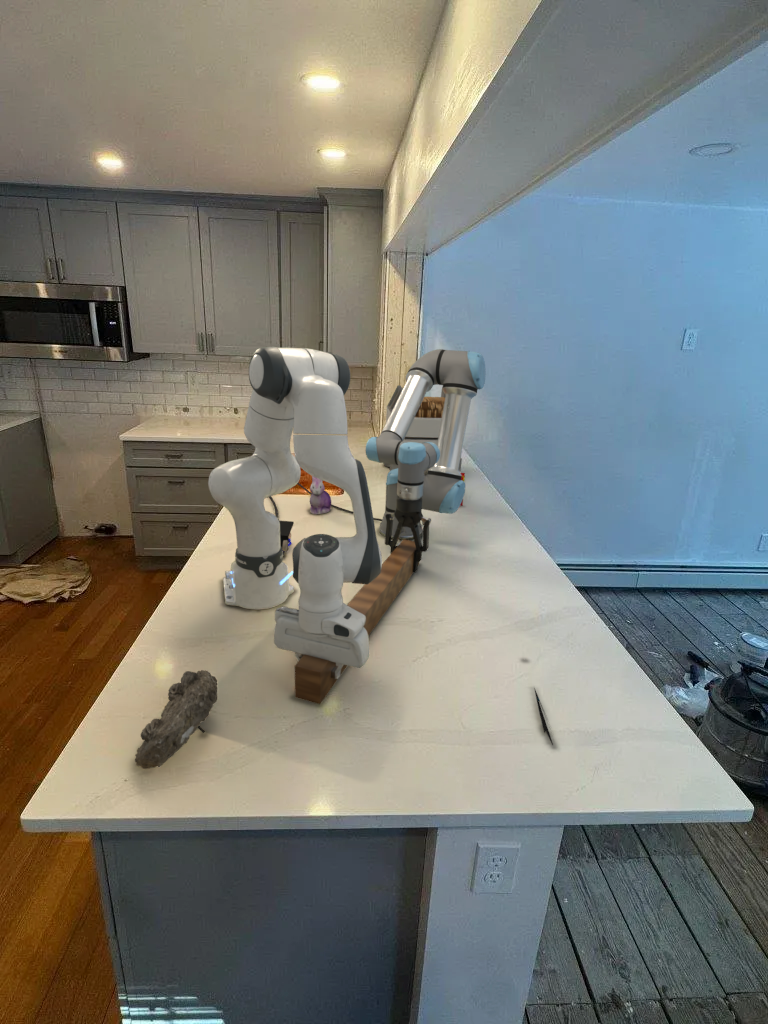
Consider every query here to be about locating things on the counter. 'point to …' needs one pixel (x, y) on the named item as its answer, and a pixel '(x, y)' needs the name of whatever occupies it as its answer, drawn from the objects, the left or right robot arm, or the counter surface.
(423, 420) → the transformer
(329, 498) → the figurine
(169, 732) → the fossil
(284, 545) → the figurine character
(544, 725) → the feather
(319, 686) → the post
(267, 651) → the counter surface
